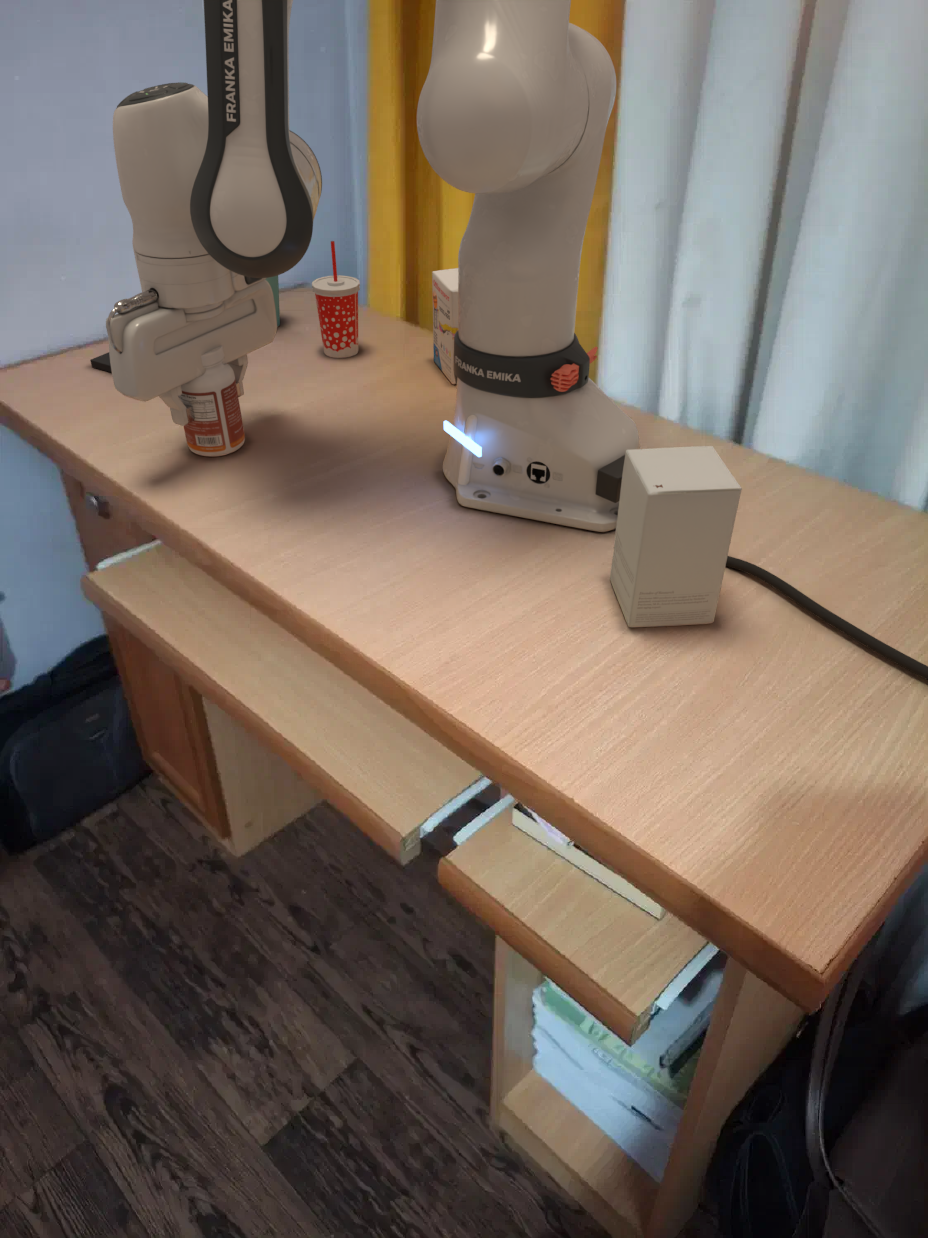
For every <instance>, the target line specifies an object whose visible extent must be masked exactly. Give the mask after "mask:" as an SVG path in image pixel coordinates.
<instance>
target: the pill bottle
mask: <svg viewBox="0 0 928 1238" xmlns="http://www.w3.org/2000/svg"><path fill="white" fill-rule="evenodd" d="M201 360H202V366H204V368H206V372H205V373H204V374H203V375H202V376H200V377H197V378H195V379H193V380H191V381H189V382H187V383H185V384H183V385H181V390H182V395H180V396H178V397H179V399H180V400H181V401H182V402H183V403H184V404H187V405H191V406H193V411H194V412H193V415H194V417H195V419H194V421H192V422H190V423H188V424H186V425H184V426H183V430H184V435H185V440H186V444H187V447H188V450H190V451H191V452H192V453H193V454H196V455H198V456H201V457H210V458H211V457H223V456H226V455H229V454H232V453H234V452H236V451H237V450H239V449H240V448H241V447H242V446H243V445H244V444H245V441H246V435H245V429H244V423H243V416H242V411H241V405H240V397H238V392H237V386H236V380H235V375H234V371H233V369H232V368H231V367H230V365H228V363H227V364H225V365H223V364H222V362H223V360H224V351H223V346H219V347H217V348H215V349H213V350H211V351H209V352H206V353H204V354H202V355H201Z"/></svg>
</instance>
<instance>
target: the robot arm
mask: <svg viewBox="0 0 928 1238" xmlns="http://www.w3.org/2000/svg"><path fill="white" fill-rule="evenodd" d="M293 3H294V0H203V16H204V17H203V19H204V39H205V65H206V66H205V67H206V92H207V94H205V92H203V91H202V90H201V89H200V88H199V87H198V86H197V85H194V84H192V83H188V82H181V81H180V82H169V83H162V84H158V85H154V86H150V87H146V88H143V89H142V90H137V91H134V92H132V93H130V94H129V95H127V96H126V97H124V98H123V99H122V100H121V101H120V102H119V103H118V104H117V105H116V107H115V109H114V111H113V116H112V138H113V147H114V148H113V149H114V157H115V162H116V170H117V176H118V181H119V186H120V192H121V197H122V200H123V203H124V205H125V207H126V209H127V211H128V213H129V216H130V219H131V223H132V249H133V255H134V259H135V265H136V270H137V274H138V279H139V284H140V288H141V292H139V293H137V294H135V295H134V296H131V297H129V298H122V299H120V300H118V301H117V302H115V303H114V305H113V309H112V310H110V312H109V313H108V317H107V318H106V319H105V330H106V333H107V339H108V342H107V343H108V352H109V355H110V364H111V371H112V373H111V377H112V381H113V386H114V388H115V390H116V391H117V392H119V393H120V394H121V395H122V396H124V397H127V398H129V399H132V400H136V401H139V402H143V403H144V402H145V403H146V402H148V401H152V400H153V399H156V398H157V397H159V398H160V399H161V401H162V402H163V403H164V404H165V405H166V406H167V408H169V411H170V415H171V419H172V420H171V421H173V423H174V424H175V425H179V426H181V427H184V425H186V424H188V423H190V422H192V421H194V419H195V417H194V415H193V412H194V411H193V406H191V405H187V404H184V403H183V402H182V401H181V400H180V399H179V397H178V396H180V395H182V390H181V385H183V384H185V383H187V382H189V381H191V380H193V379H195V378H197V377H200V376H202V375H203V374H204V373H205V372H206V368H204V366H202V360H201V355H202V354H204V353H206V352H209V351H211V350H213V349H215V348H217V347H219V346H223V351H224V360H223V362H222V364H223V365H225V364H228V365H230V367H231V368H232V369H233V371H234V375H235V380H236V386H237V392H238V398H241V397H242V396H244V395H245V390H244V383H243V381H244V379H245V376H246V372H247V369H248V364H249V360H248V354H250V353H253V352H254V351H256V350H258V349H260V348H263V347H264V346H267V345H269V344H272V343H273V342H274V340H275V338H276V334H277V332H278V327H277V318H276V309H275V303H274V297H273V292H272V289H271V286H270V284H269V283H268V282H267V281H266V280H265V279H266V278H269V277H274V276H277V275H278V276H280V275H282V274H285V273H287V272H289V271H290V270H291V269H293V268H294V267H296V266H297V265H298V264H299V262H300V261H301V260H302V259H303V257H304V256H305V255H306V253H307V251H308V249H309V247H310V244H311V242H312V238H313V230H314V220H315V217H316V214H317V210H318V206H319V202H320V199H321V197H322V196H321V195H322V190H323V177H322V170H321V167H320V164H319V161H318V159H317V156H316V154H315V153H314V151H313V150H312V148H311V147H310V145H309V144H308V143H307V142H306V141H305V140H304V139H303V138H302V137H301V136H300V135H298V134H297V133H295V132H294V131H292V130H291V129H290V47H289V46H290V41H289V40H290V38H289V37H290V24H291V23H290V22H291V14H292V7H293ZM571 4H572V0H435V11H434V26H433V38H432V39H433V40H432V49H431V58H430V64H429V70H428V73H427V76H426V79H425V81H424V84H423V86H422V88H421V91H420V94H419V98H418V102H417V110H416V128H417V135H418V140H419V144H420V147H421V149H422V152H423V154H424V157H425V158H426V160H427V162H428V163H429V165H430V167H431V168H432V170H433V171H434V172H435V174H437V175H438V177H439V178H441V180H442V181H444V182H445V183H447V184H448V185H450V186H451V187H453V188H455V189H457V190H459V191H461V192H465V193H469V194H474V199H473V203H472V207H471V212H470V215H469V219H468V222H467V226H466V228H465V230H464V233H463V236H462V238H461V241H460V245H459V249H458V254H457V255H458V256H457V259H458V261H457V265H458V266H457V268H458V331H457V332H456V333H455V336H454V377H455V382H456V384H455V385H456V390H455V391H456V392H455V402H454V403H455V404H454V412H453V421H452V423H451V422H450V421H448V420H444V421H443V431H445V432H446V433H447V434H448V435H450V437H449V440H448V446H447V449H446V452H445V456H444V458H443V460H442V461H443V462H442V473H443V474H444V476H445V478H446V479H447V481H448V482H449V483H450V484H451V485H452V486H453V487H454V489H455V495H456V500H457V502H458V504H459V505H460V506H462V507H465V508H469V509H475V510H480V511H485V512H491V513H497V514H502V515H506V516H512V517H518V518H523V519H528V520H534V521H538V522H545V523H551V524H556V525H560V526H565V527H571V528H576V529H581V530H588V531H593V532H600V533H605V532H609V531H613V530H616V525H617V517H618V509H619V500H620V491H621V483H622V474H623V467H624V460H625V453H626V450H632V449H641V438H640V432H639V429H638V426H637V424H636V422H635V421H634V420H633V419H632V418H631V417H630V416H629V415H628V414H627V413H626V412H625V411H624V410H622V408H620V407H619V406H618V404H616V403H615V402H614V401H613V400H612V399H611V398H610V397H609V395H607V394H606V393H605V392H604V391H603V390H602V389H601V388H600V387H599V385H597V384H596V383H595V382H594V381H593V380H592V379H591V378H590V376H589V375H590V367H591V366H590V365H591V364H592V363H593V362H594V361H595V360H597V358H598V355H596V354H597V351H598V349H599V348H598V347H597V346H594V347H593V348H592V349H590V350H589V351H587V352H586V350H585V349H584V348H583V346H582V345H581V344H580V340H579V338H578V335H577V334H576V333H575V330H576V329H575V327H576V316H577V303H578V294H579V280H580V270H581V269H580V268H581V258H582V252H583V244H584V239H585V235H586V230H587V224H588V220H589V216H590V212H591V207H592V203H593V198H594V194H595V189H596V185H597V180H598V175H599V170H600V165H601V160H602V153H603V150H604V149H603V148H604V142H605V136H606V131H607V127H608V124H609V120H610V117H611V114H612V111H613V108H614V105H615V101H616V95H617V76H616V75H617V74H616V69H615V66H614V63H613V61H612V58H611V56H610V54H609V52H608V51H607V49H606V47H605V46H604V45H603V43H601V41H600V40H599V39H597V37H595V36H594V35H593V34H591V33H590V32H589V31H587V30H586V29H584V28H582V27H579V26H578V25H576V24H574V23H571V22H570V13H571ZM725 567H728V568H731V569H735V570H738V571H741V572H744V573H746V574H749V575H751V576H753V577H755V578H756V579H759V580H761V582H764V583H765V584H767V585H769V586H771V587H772V588H774V589H776V590H777V591H779V592H780V593H782V594H783V595H785V596H786V597H788V598H789V600H792V601H793V602H795V603H796V604H797V605H799V606H800V607H802V608H803V609H805V610H806V611H807V612H809V613H810V614H813V615H814V616H816V617H817V618H818V619H820V620H822V621H823V622H824V623H827V624H829V625H830V626H831V627H833V628H835V629H836V630H838V631H840V632H841V633H843V634H844V635H846V636H848V637H850V638H852V639H853V640H854V641H856V642H858V643H860V644H861V645H863V646H865V647H866V648H868V649H870V650H872V651H873V652H874V653H877V654H878V655H880V656H882V657H883V658H886V659H887V660H889V661H890V662H893V663H895V664H897V665H898V666H900V667H901V668H904V669H905V670H908V671H909V672H912V673H913V674H915V675H917V676H919V677H921V678H923V679H924V680H926V681H928V665H926V664H924V663H922V662H920V661H918V660H916V659H915V658H913V657H910V656H909V655H907V654H905V653H903V652H901V651H900V650H898V649H896V648H894V647H892V646H891V645H888V644H887V643H885V642H883V641H881V640H880V639H878V638H876V637H875V636H872V635H871V634H869V633H867V632H866V631H864V630H863V629H861V628H859V627H857V626H856V625H854V624H852V623H850V622H849V621H847V620H845V619H844V618H842V617H841V616H839V615H837V614H836V613H834V612H832V611H830V610H829V609H827V608H825V607H824V606H822V605H821V604H819V603H818V602H817V601H815V600H813V599H812V598H810V597H809V596H807V594H805V593H803V592H802V591H800V590H798V588H796V587H794V586H792V584H790V583H788V582H786V581H785V580H783V579H782V578H780V577H779V576H777V575H775V574H774V573H771V572H770V571H768V570H766V569H765V568H762V567H761V566H758V565H756V564H755V563H751V562H748V561H746V560H743V559H741V558H740V559H739V558H736V557H733V556H730V555H728V557H727V561H726V566H725Z"/></svg>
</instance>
